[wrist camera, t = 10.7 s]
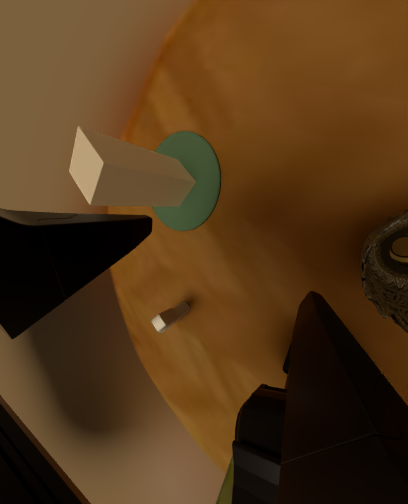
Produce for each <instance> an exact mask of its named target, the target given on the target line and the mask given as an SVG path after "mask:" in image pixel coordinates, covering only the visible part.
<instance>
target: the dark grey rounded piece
mask: <svg viewBox="0 0 408 504" xmlns="http://www.w3.org/2000/svg"><path fill="white" fill-rule="evenodd" d="M406 236H408V209H407V210H405V211H402V212H400V213H397V214H395V215H393V216H391V217H390V218H388V219H386V220H385V221H383V222H382V223H380V224H379V225H378V226H377V227H376V228H374V229H373V231H372V232H371V233H370V234H369V235H368V237H367V238H366V240H365V242H364V244H363V246H362V249H361V254H360V267H361V278H362V283H363V290H364V293H365V295H366V297H367V299H369V300H370V301H372V302H373V303H374V304H375V305H376V307H377V310H378V312H379V313H380V315H381V316H382V317H383V318H390V316H391V317H392V319H393V321H394V322H395V323H396V324H398V325H399V326H400V327H401V328H402V329H404V330H405V331H406V332H407V333H408V257H404V256H399V255H397V254H395V253H394V252H393V250H392V244H393V242H394V241H395V240H397V239H399V238H401V237H406Z"/></svg>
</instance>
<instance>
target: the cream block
mask: <svg viewBox="0 0 408 504" xmlns="http://www.w3.org/2000/svg"><path fill="white" fill-rule="evenodd" d="M69 172H70V174H71V175H72V177H73V179H74V180H75V182H76V183H77V185H78V187H79V188H80V190H81V192H82V193H83V195H84V196H85V198H86V200H87V201H88V203H89V204H90V205H105V206H169V207H179V206H180V205H181V203H182V202H183V201H184V199H185V198H186V196H187V195H188V193H189V192H190V191H191V189H192V188H193V186H194V185H195V183H196V181H195V180H194V179H193V177H192V176H191V175H190V174H189V172H188V171H187V170H186V169H185V168H184V166H183V165H182V164H181V163H180V162H179V160H178V159H175V158H172V157H169V156H166V155H163V154H160V153H157V152H154V151H151V150H148V149H145V148H142V147H139V146H136V145H133V144H130V143H127V142H124V141H122V140H119V139H116V138H113V137H110V136H107V135H104V134H101V133H97V132H95V131H92V130H89V129H86V128H83V127H80V126H78V130H77V135H76V140H75V145H74V150H73V154H72V159H71V164H70V170H69Z"/></svg>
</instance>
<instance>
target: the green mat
mask: <svg viewBox="0 0 408 504" xmlns="http://www.w3.org/2000/svg"><path fill="white" fill-rule="evenodd" d="M156 152H157V153H160V154H163V155H166V156H169V157H172V158H175V159H178V160H179V162H180V163H181V164H182V165H183V166H184V168H185V169H186V170H187V171H188V172H189V174H190V175H191V176H192V177H193V179H194V180H195V181H196V183H195V185H194V186H193V188H192V189H191V191H190V192H189V193H188V195H187V196H186V198H185V199H184V201H183V202H182V203H181V205H180V206H179V207H169V206H152V207H153V209H154V211H155V213H156V215H157V216H158V218H159V219H160V220H161V221H162V222H163V223H164V224H165V225H166V226H168V227H170V228H172V229H174V230H179V231H186V230H191V229H194V228H196V227H198V226H200V225H201V224H202V223H204V222H205V221H206V220H207V219H208V217H209V216H210V215H211V213H212V211H213V210H214V208H215V205H216V203H217V200H218V197H219V192H220V185H221V174H220V167H219V163H218V159H217V157H216V154H215V152H214V150H213V149H212V147H211V146H210V144H209V143H208V142H207V141H206V140H205V139H204V138H202V137H201V136H199V135H198V134H195V133H193V132H188V131H181V132H176V133H174V134H172V135H170V136H169V137H167V138H166V139H165V140H164V141H163V142H162V143H161V144H160V145H159V147H158V148H157V150H156Z"/></svg>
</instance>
